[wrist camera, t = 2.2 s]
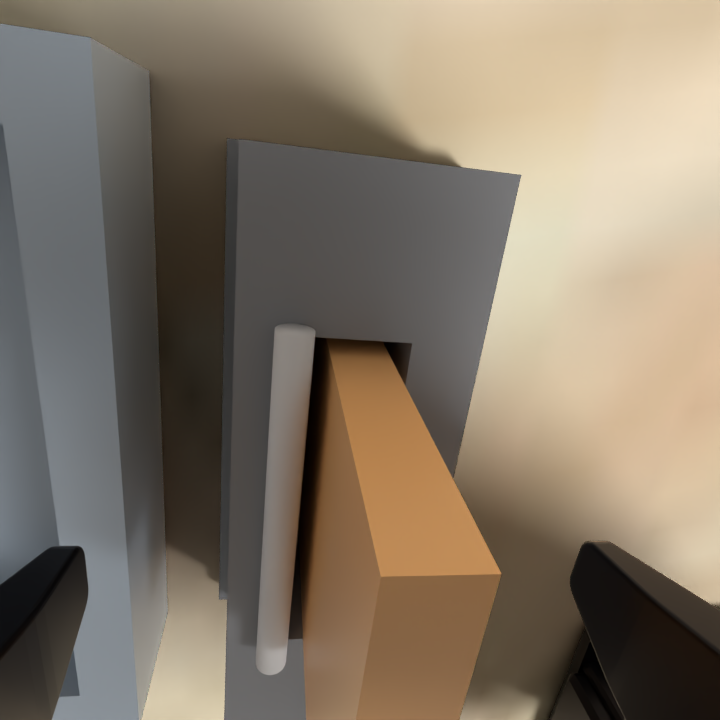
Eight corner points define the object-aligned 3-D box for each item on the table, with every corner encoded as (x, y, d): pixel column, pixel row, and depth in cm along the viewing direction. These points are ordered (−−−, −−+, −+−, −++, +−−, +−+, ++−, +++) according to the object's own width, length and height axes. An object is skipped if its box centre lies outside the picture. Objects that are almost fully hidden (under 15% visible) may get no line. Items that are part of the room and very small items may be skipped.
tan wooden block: (361, 299, 11) (501, 574, 4) (334, 513, 14) (395, 939, 6) (316, 296, 11) (380, 577, 4) (297, 513, 13) (314, 951, 6)
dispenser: (463, 168, 11) (574, 181, 7) (388, 581, 16) (427, 742, 11) (229, 138, 10) (192, 132, 6) (221, 585, 15) (195, 761, 10)
